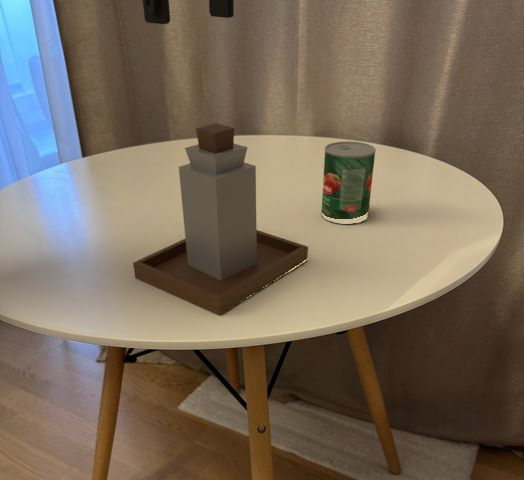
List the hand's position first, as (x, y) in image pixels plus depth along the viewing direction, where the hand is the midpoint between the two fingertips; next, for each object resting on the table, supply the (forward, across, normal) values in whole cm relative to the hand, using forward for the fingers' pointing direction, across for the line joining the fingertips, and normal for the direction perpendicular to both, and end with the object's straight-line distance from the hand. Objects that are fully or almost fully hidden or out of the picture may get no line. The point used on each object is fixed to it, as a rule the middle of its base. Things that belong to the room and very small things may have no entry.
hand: (191, 19), depth 59 cm
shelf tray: (+30, -1, +2) cm, 30 cm away
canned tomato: (+30, -28, +5) cm, 41 cm away
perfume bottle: (+29, -1, +2) cm, 29 cm away
